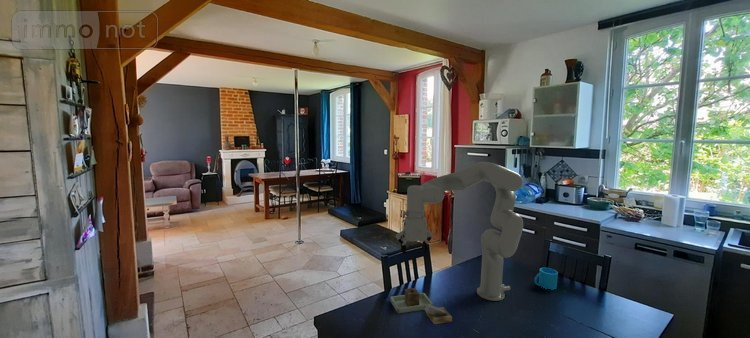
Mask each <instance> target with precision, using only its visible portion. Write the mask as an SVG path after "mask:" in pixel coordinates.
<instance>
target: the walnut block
mask: <svg viewBox="0 0 750 338" xmlns="http://www.w3.org/2000/svg"><path fill="white" fill-rule="evenodd" d="M420 293H421V292H419V290H418V289H417V288H416V287H414V288H413V287H412V288H405V289H404V295H405V303H406V305H407V306H408V307H409V306H417V305H419V296H420Z"/></svg>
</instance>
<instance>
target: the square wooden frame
mask: <svg viewBox="0 0 750 338" xmlns="http://www.w3.org/2000/svg"><path fill="white" fill-rule="evenodd" d="M437 308H440V309H443V310H444V311H445V312H446V315H445V316H441V317H437V316H435V315H432V314H429V313H427V312H426V311H425V314H426V316H427V317H428V318H429V320H430V321H431V322H432V324H433V325H439V324H447V323H452V322H453V316H452V315H451V314H450V313H449V311H447V309H446V308H445V307H444V306H438V307H437Z"/></svg>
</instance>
